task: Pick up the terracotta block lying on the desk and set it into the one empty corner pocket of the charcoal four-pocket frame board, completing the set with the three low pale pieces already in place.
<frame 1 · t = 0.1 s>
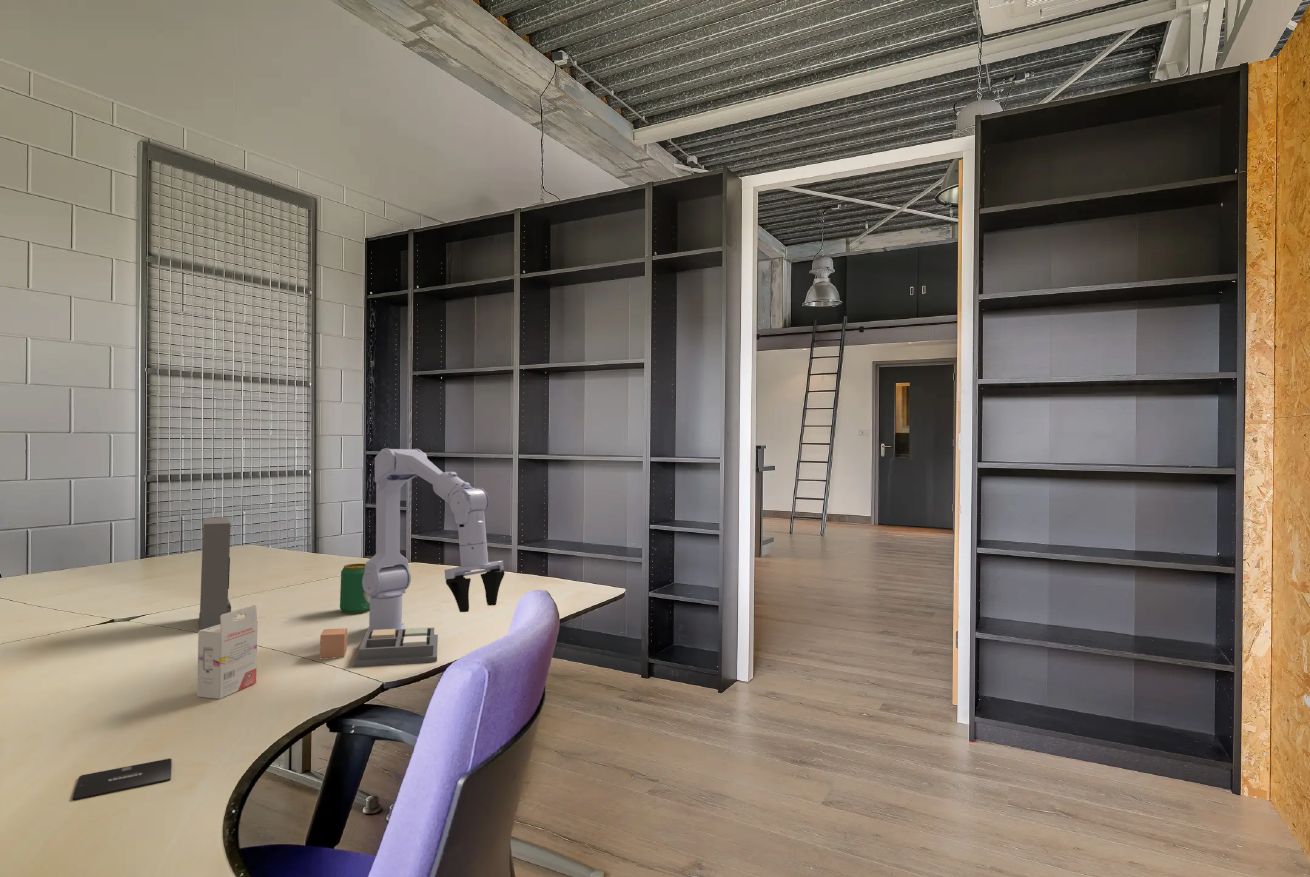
hand: (478, 608, 145), 11 cm above the table, tool pointing down, fingers open, 7 cm apart
tall grey upright panel: (214, 624, 166), on the table
terracotta block: (333, 655, 144), on the table
frame board: (398, 651, 148), on the table
beverage can: (356, 611, 182), on the table
ink cartridge box: (226, 691, 123), on the table
solid state drive: (124, 783, 90), on the table
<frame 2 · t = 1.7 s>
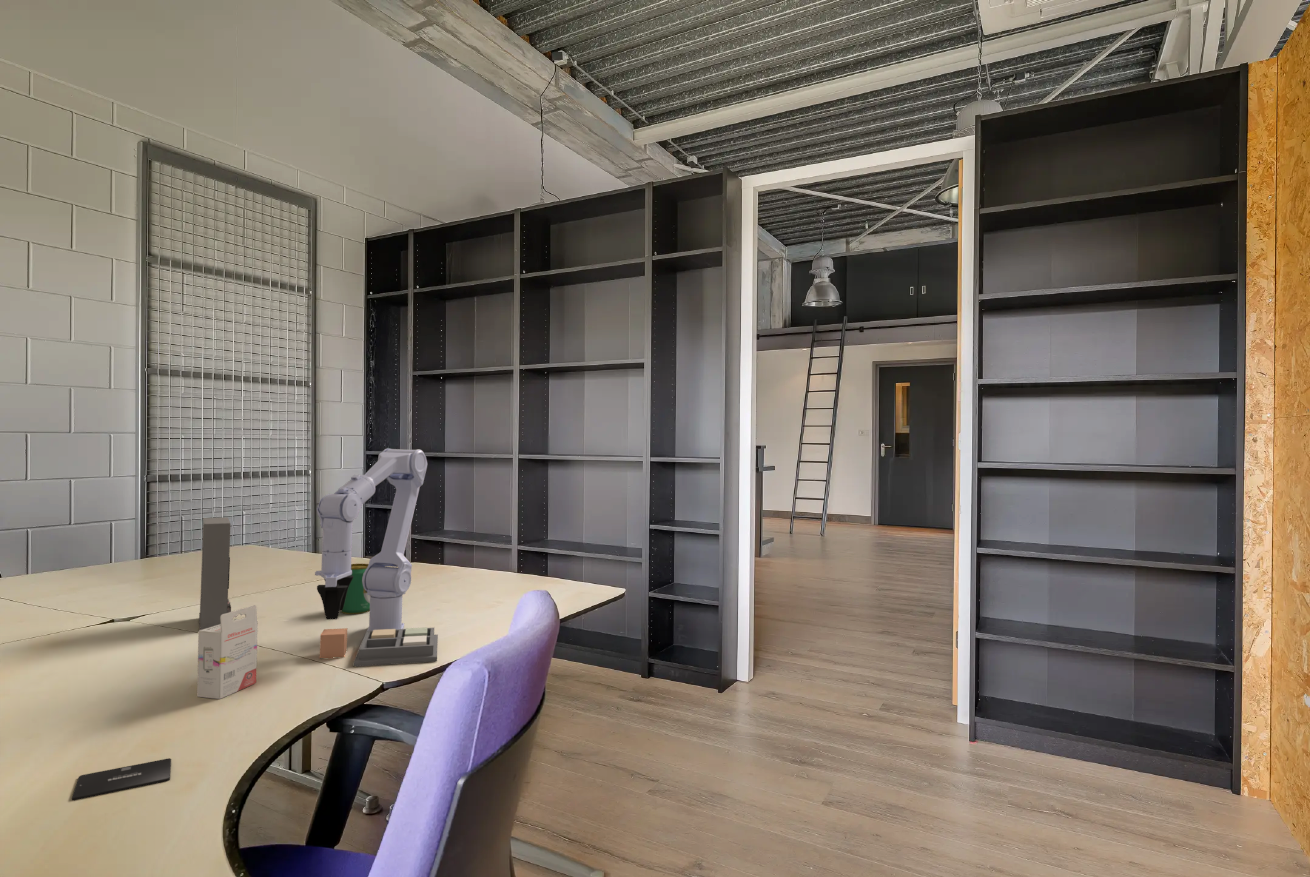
hand: (334, 614, 145), 9 cm above the table, tool pointing down, fingers open, 7 cm apart
nothing on the table moved.
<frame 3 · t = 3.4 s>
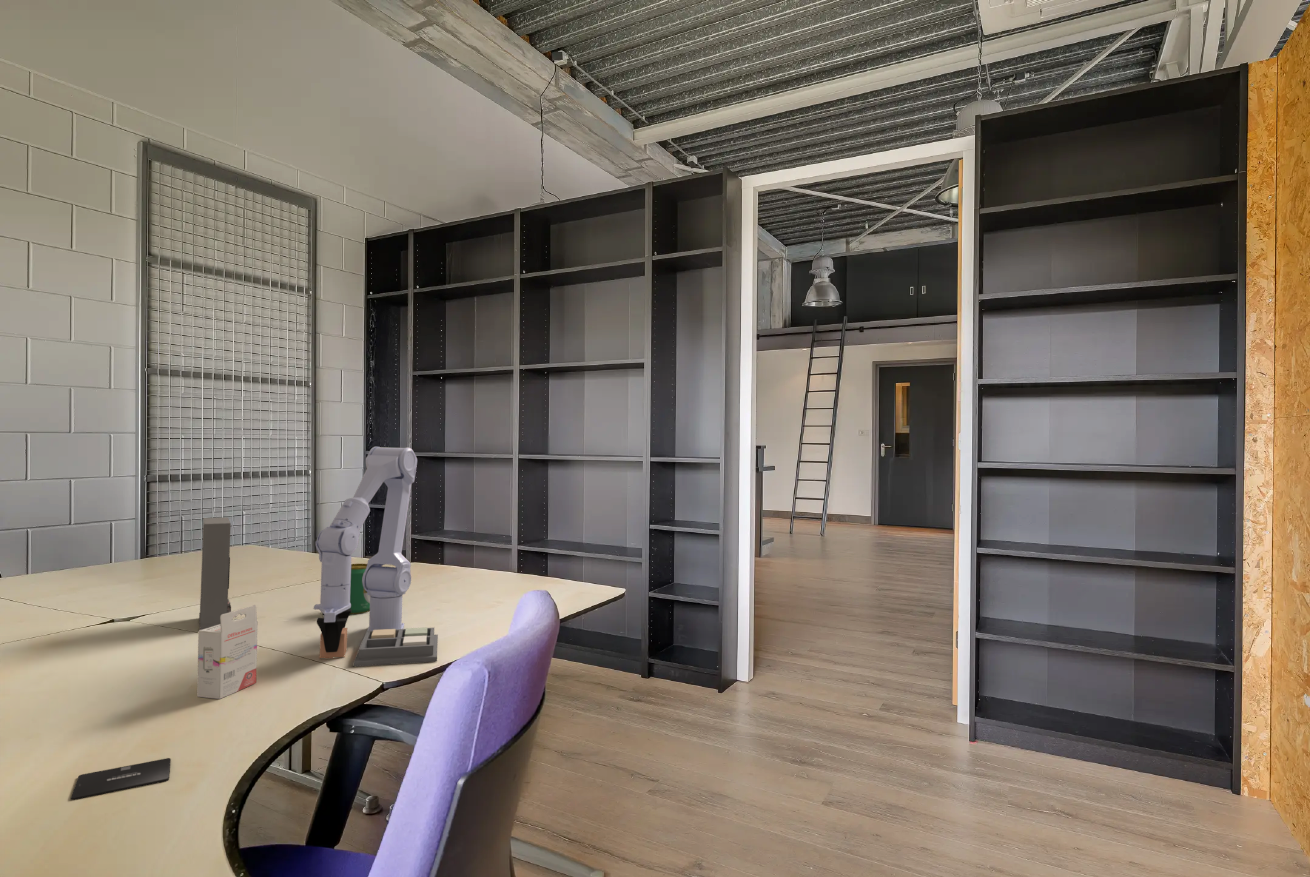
hand: (333, 648, 144), 1 cm above the table, tool pointing down, fingers closed on terracotta block, 5 cm apart
terracotta block: (333, 654, 144), on the table, touching gripper
everything else where it was.
when the fingers open (4 cm above the table, at t = 6.9 s): terracotta block drops 2 cm, resting on frame board.
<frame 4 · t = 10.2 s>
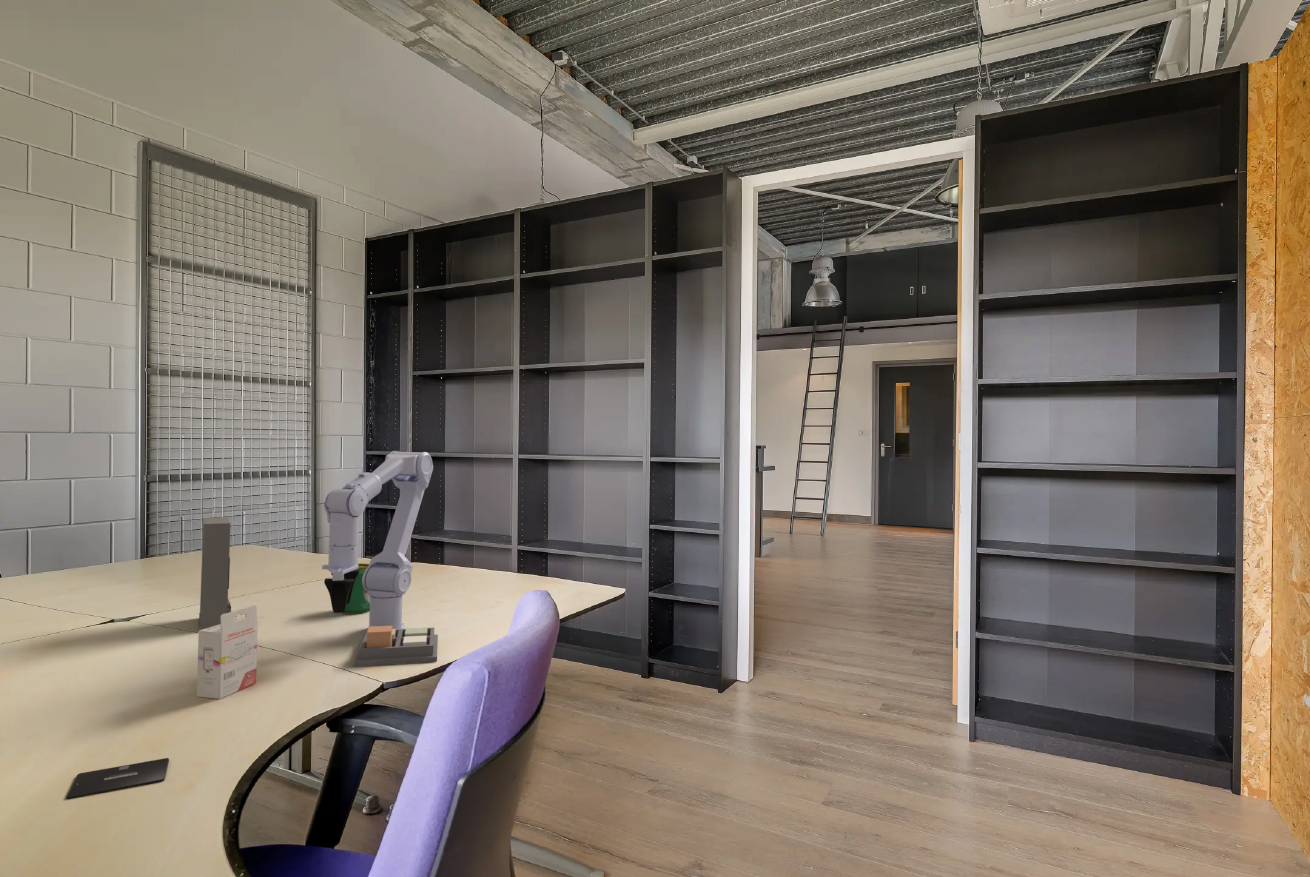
hand: (341, 607, 147), 9 cm above the table, tool pointing down, fingers open, 7 cm apart
terracotta block: (379, 652, 144), point 1 cm above the table, touching frame board
everything else where it was.
at the end: terracotta block 0.3 cm from the target spot on the frame board, point 1.0 cm above the frame board's base; terracotta block tilted 0°; the gripper is holding nothing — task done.
